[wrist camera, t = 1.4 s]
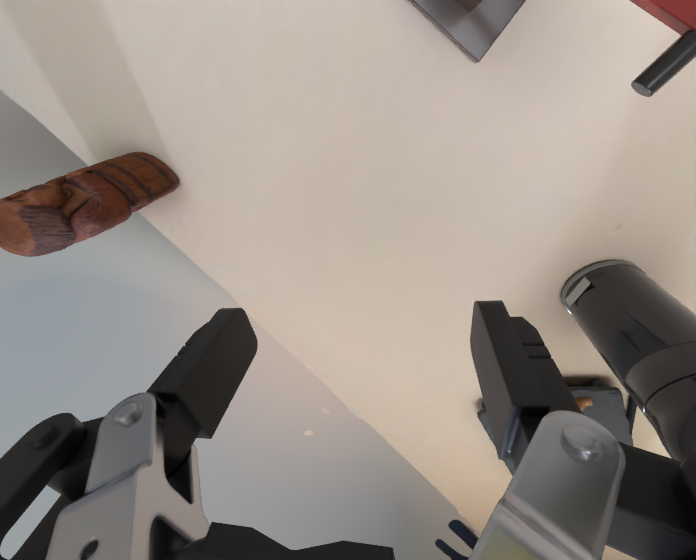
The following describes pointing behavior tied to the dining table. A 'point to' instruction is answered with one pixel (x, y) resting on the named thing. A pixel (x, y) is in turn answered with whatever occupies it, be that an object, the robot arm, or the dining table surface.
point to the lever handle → (689, 21)
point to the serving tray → (589, 411)
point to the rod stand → (470, 21)
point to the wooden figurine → (81, 203)
